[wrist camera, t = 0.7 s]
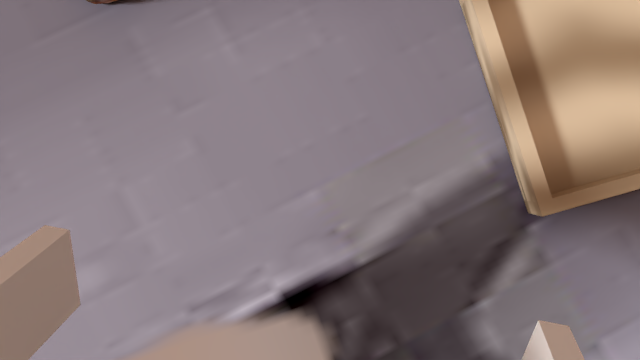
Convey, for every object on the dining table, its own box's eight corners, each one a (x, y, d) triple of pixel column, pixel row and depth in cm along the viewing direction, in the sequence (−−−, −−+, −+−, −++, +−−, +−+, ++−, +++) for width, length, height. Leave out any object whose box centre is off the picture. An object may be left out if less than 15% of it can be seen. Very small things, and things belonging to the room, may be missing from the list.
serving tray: (777, 141, 26) (818, 137, 23) (528, 212, 28) (542, 216, 25) (697, -92, 26) (730, -119, 24) (457, -5, 28) (464, -23, 26)
